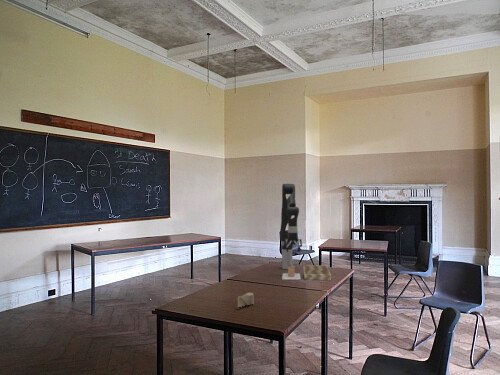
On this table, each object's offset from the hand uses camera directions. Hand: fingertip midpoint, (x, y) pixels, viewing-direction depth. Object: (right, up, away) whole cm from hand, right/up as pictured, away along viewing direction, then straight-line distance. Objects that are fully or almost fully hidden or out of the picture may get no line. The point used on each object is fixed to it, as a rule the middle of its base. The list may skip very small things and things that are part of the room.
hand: (293, 252), depth 292 cm
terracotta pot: (-2, -19, -2) cm, 19 cm away
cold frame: (+18, -19, -4) cm, 27 cm away
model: (-37, -19, -78) cm, 88 cm away
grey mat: (-2, -19, -2) cm, 19 cm away
